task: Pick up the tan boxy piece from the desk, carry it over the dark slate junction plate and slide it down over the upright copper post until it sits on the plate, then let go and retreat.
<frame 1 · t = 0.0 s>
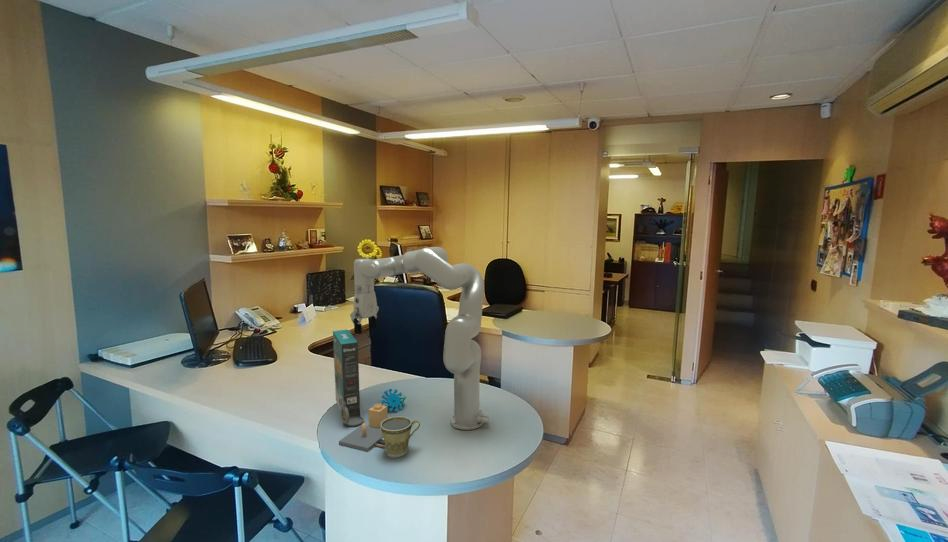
hand: (365, 330, 172), 31 cm above the table, fingers open, 9 cm apart
gear: (394, 409, 171), on the table
ceramic cup: (401, 451, 139), on the table
pocket watch: (351, 424, 158), on the table
tan boxy piece: (378, 424, 157), on the table
junction plate: (364, 439, 146), on the table
cake mix box: (347, 408, 171), on the table
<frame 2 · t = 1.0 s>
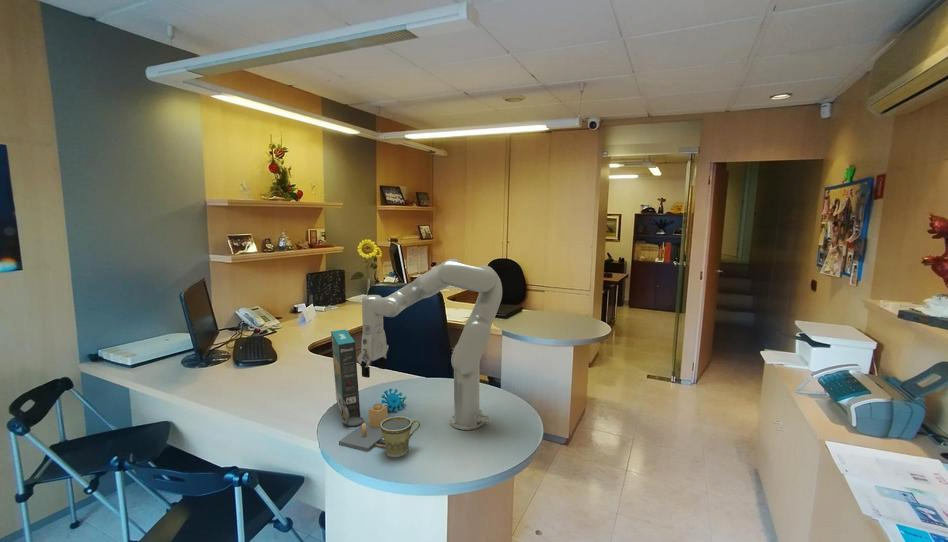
hand: (374, 372, 158), 19 cm above the table, fingers open, 9 cm apart
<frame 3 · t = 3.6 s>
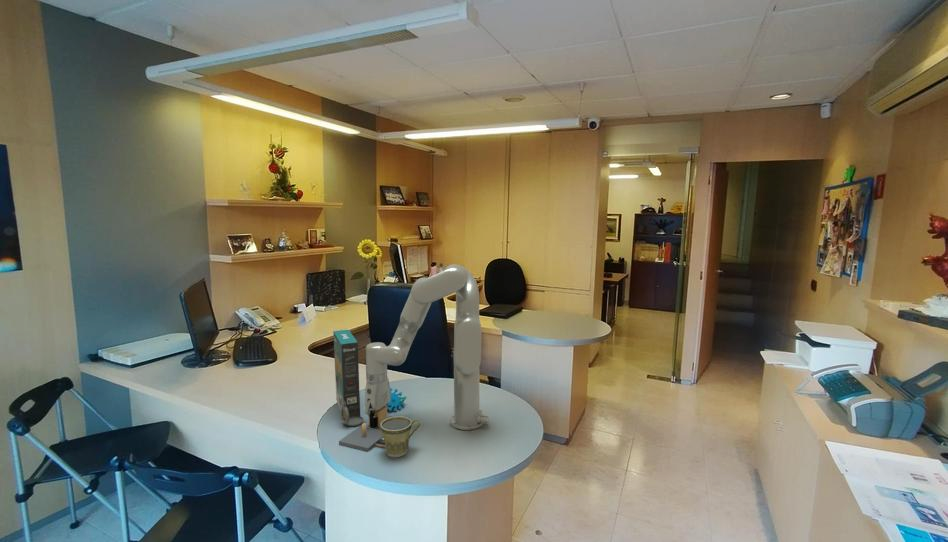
hand: (378, 423, 157), 1 cm above the table, fingers closed on tan boxy piece, 4 cm apart
tan boxy piece: (378, 424, 157), on the table, touching gripper
everything else where it was.
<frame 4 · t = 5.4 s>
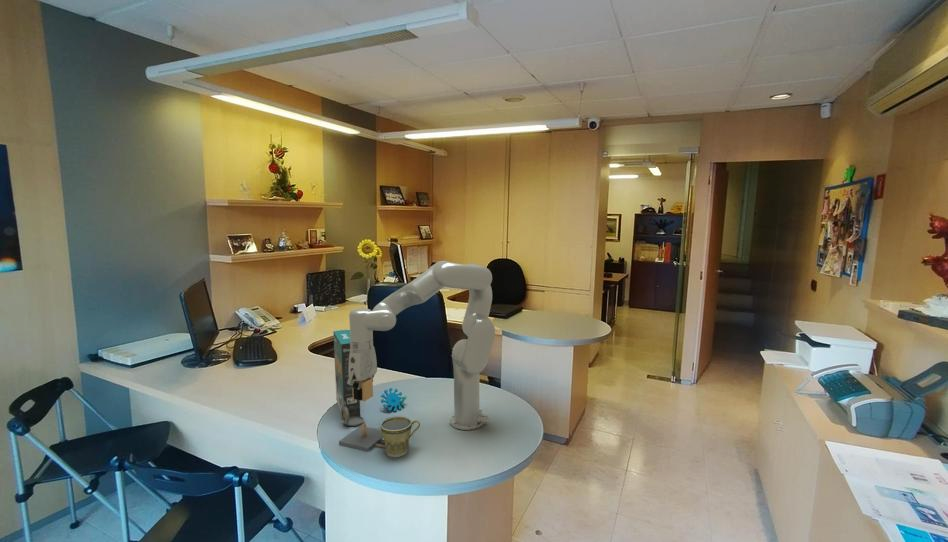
hand: (363, 396, 145), 16 cm above the table, fingers closed on tan boxy piece, 4 cm apart
tan boxy piece: (363, 397, 145), point 15 cm above the table, touching gripper
everything else where it was.
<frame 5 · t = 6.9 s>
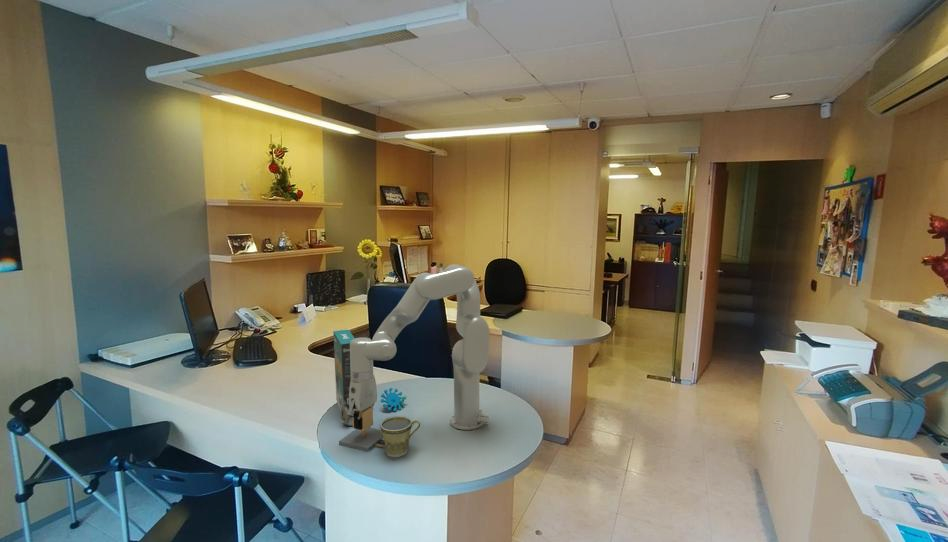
hand: (363, 424, 145), 5 cm above the table, fingers closed on tan boxy piece, 4 cm apart
tan boxy piece: (363, 426, 145), point 5 cm above the table, touching gripper
everything else where it was.
when the fingers open (3 cm above the table, at t = 7.7 s): tan boxy piece drops 1 cm, resting on junction plate.
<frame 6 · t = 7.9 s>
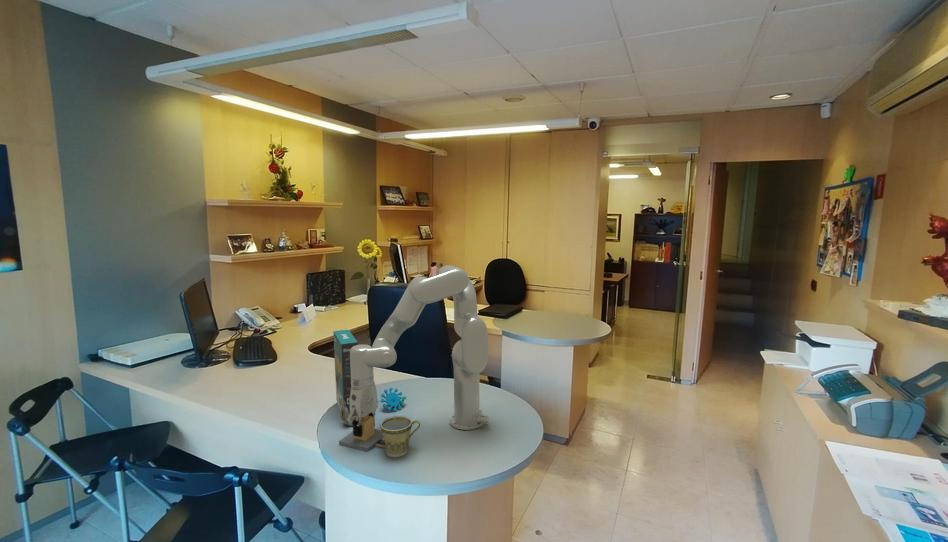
hand: (364, 430, 146), 3 cm above the table, fingers open, 6 cm apart
tan boxy piece: (364, 436, 146), point 1 cm above the table, touching junction plate
everything else where it was.
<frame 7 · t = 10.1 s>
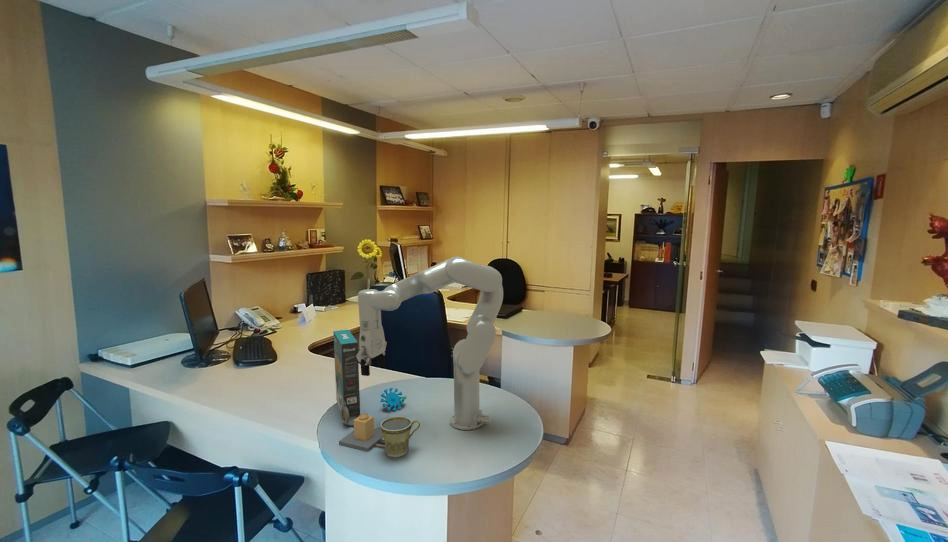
hand: (373, 370, 151), 22 cm above the table, fingers open, 9 cm apart
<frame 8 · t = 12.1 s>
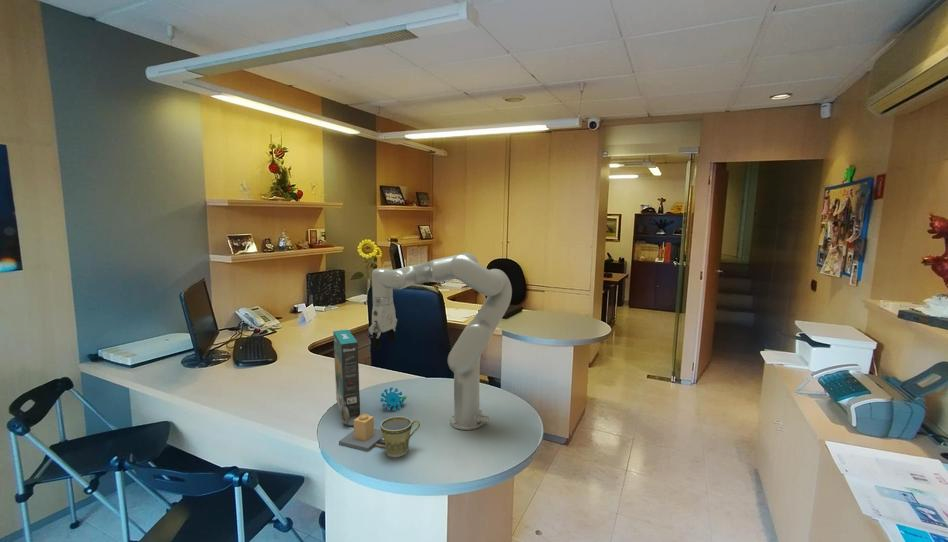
hand: (384, 344, 162), 28 cm above the table, fingers open, 9 cm apart
at the end: tan boxy piece 0.0 cm off-centre on the junction plate, point 1.2 cm above the junction plate's base; tan boxy piece tilted 0°; the gripper is holding nothing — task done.
